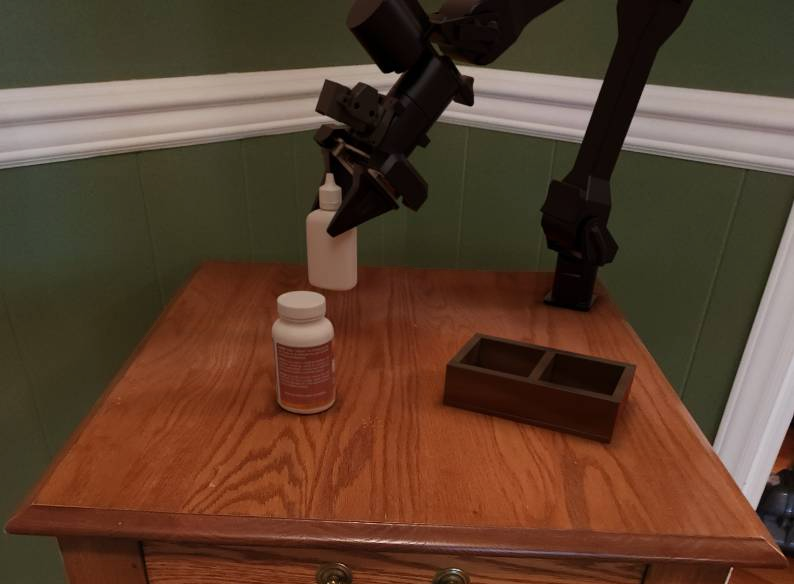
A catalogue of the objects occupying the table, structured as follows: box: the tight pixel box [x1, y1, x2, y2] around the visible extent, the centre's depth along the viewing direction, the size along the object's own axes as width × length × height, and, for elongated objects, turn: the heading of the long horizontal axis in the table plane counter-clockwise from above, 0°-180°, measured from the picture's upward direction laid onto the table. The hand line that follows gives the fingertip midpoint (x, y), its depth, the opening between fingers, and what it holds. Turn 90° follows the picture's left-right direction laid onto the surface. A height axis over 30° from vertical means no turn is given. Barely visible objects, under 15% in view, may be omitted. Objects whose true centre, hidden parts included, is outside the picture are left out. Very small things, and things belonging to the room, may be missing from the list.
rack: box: [442, 332, 637, 444], centre depth 77 cm, size 9×18×5 cm, turn 66°
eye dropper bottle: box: [305, 173, 358, 292], centre depth 82 cm, size 4×6×12 cm
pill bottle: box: [271, 290, 336, 415], centre depth 74 cm, size 6×6×11 cm
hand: (319, 228), depth 81 cm, fingers closed on eye dropper bottle, 5 cm apart
